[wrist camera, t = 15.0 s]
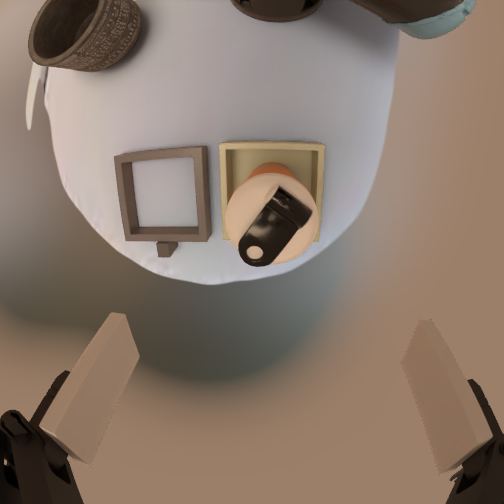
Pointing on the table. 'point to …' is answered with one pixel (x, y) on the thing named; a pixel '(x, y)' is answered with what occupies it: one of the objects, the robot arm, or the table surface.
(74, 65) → the planter
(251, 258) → the shaker bottle
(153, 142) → the table surface
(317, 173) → the sage holder
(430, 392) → the robot arm
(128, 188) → the collar
